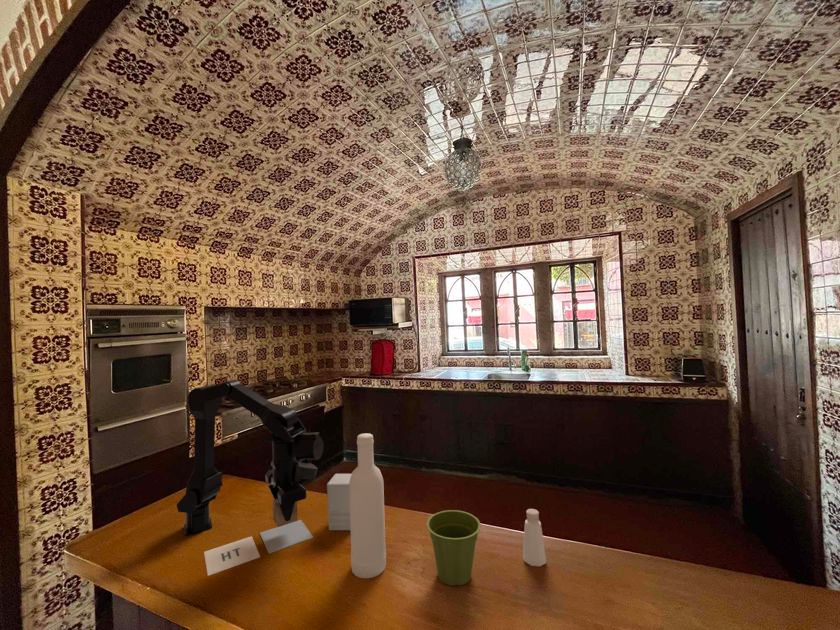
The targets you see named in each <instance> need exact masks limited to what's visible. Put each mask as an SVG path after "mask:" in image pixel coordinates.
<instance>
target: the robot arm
mask: <svg viewBox="0 0 840 630" xmlns="http://www.w3.org/2000/svg"><path fill="white" fill-rule="evenodd" d="M223 398H228V399H229V400H231V401H232V402H234V403H236V404H237V405H239V406H240V407H242V408H243V409H245V410H247V411H248V412H250V413H252V414H253V415H254V416H256V417H257V418H258V419H260V421H261V423H262V425H263V427H264V428H266V429H267V430H268V431H269V432H270V433H269V435H268V436H267V437H266V438H265V439H264V442H267V443H271V444H272V446H271V447H272V461H270V466H271V467H272V469H268V470H267V472H266V473H265V475H264V476H265V478H264V479H265V482H266V484H268V486H267V487H268V489H269V491H270V493H271V495H272V497H273V500H275V499H276V500H277V502H278V504H279V507H280V509H281V511H282V514H283V516H284V518H285V521H286V522H287V521H290V519H291V515H292V512H293V508H294V504H295V502H297V503H298V502H300V501H302V500H303V501H304V500H306V499H307V489H306V488H305V487H304V486H303V485H302V483H301V484H300V483H299V482H300V479H301V480H302V479H304V480H309V481H315V478H316V475H317V472H318V467H317V466H316V465H315V464H312V463H311V462H309V460H311V461H312V460H313V461H317V460H320V459H321V457H322V455H323V453H324V447H325V446H324V445H325V444H324V442H323V438H322V437H321V436H320V432H316V431H314V432H307V429H306V427H305V425H304V424H303V422H301V420H300V419H299V416H298V413H297V412H298V411H296V410H295V409H293V408H290V407H289V406H286V405H282V404H277V403H274V402H271V401H269V400H268V399H266V398H265V397H263V396H262V395H260V394H258V393H257V392H255V391H253V390H252V389H250V388H249V387H247V386H245V385H244V384H242V383H241V381H240V380H237V379H232V380H228V381H224V382H222V383H220V384H209V385H204V386H201V387H200V386H199V387H195V388H193V389H191V391H190V392H189V393H188V395H187V404H188V410H189V412H190V414H191V416H192V417H193V418H194V440H193V441H194V445H193V446H194V447H193V449H194V450H193V451H194V452H193V457H194V458H193V471H192V473H191V475H190V477H189V478H188V480H187V484H186V489H185V494H184V495H183V496H182V497H181V499H180V500H179V501H178V502H177V504H176V508H177V512H178V513H183V514H185V523H184V524H183V530H184V533H183V534H184V536H186V537H187V536H191V535H194V534H196V533H197V534H198V533H200V532H203V531H207V530H210V529H212V528H213V522H212V518H211V517H210V512H211V511H210V502H212V501H214V500H216V499H217V495H218V493H219V492H220V491H221V488H222V486H223V481H222V480H223V472H222V471H218V470H217V469H216V467H215V445H216V444H215V441H216V440H215V438H216V436H215V435H216V416H217V414H218V413H219V411H220V408H221V406H222V401H223ZM291 430H292V431H291ZM298 460H299V461H298ZM297 482H298V483H297Z"/></svg>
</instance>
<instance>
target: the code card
mask: <svg viewBox="0 0 840 630" xmlns="http://www.w3.org/2000/svg"><path fill="white" fill-rule="evenodd" d="M203 554H204V561H205V567H206V574H207V577H209V576H212V575H215V574H218V573H221V572H223V571H227V570H228V569H231V568H233V567H237V566H239V565H242V564H245V563H248V562H250V561H252V560H256V559H259V558H260V557H261V555H260V553H259V550H258V547H257V546H256V543H255V541H254V539H253V536H248V537H245V538H242V539H238V540H236V541H233V542H230V543H228V544H223V545H221V546H218V547H214V548H212V549H209V550H206V551H203Z"/></svg>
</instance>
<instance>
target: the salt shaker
mask: <svg viewBox="0 0 840 630" xmlns="http://www.w3.org/2000/svg"><path fill="white" fill-rule="evenodd" d="M525 512H526V519H525V521H524V530H523V531H524V533H523V547H522V548H523V549H522V550H523V551H522V557H523V562H525V563H527V564H528V565H529V566H530V567H531V566H532V567H542V566H543V565H545V564H547V556H546V550H545V542H544V537H543V536H544V535H543V529H542V523H541V521H540V518H539V517H540V516H539V514H540V512H539V511H538V510H537V509H534V508H528V509H527V510H526V511H525Z"/></svg>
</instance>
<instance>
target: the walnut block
mask: <svg viewBox="0 0 840 630" xmlns="http://www.w3.org/2000/svg"><path fill="white" fill-rule="evenodd" d="M272 514H273V515H272V516H273V522H274V524H276V527H280V526H283V525H286V524H289V523H292V522H295V521H298V520H299V519H298V501H297V502H295V504H294V508H293V512H292V515H291V519H290V521H287V522H286V521H285V518H284V516H283V514H282V511H281V509H280V507H279V504H278V502H277V500H276V499H275V500H274V499H273V500H272Z"/></svg>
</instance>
